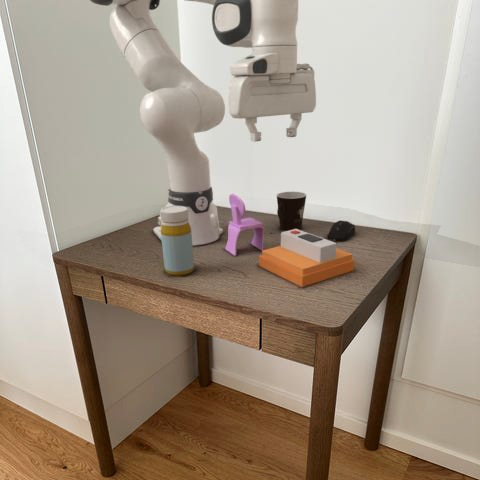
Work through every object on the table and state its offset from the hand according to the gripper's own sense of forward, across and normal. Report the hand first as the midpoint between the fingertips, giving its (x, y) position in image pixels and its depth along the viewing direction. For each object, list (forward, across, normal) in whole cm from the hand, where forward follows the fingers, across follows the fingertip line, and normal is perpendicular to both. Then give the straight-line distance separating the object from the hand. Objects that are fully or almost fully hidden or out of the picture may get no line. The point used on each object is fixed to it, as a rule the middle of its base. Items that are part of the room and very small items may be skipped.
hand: (274, 139), depth 97 cm
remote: (+25, -6, +5) cm, 26 cm away
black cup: (+29, -22, -22) cm, 43 cm away
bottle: (+29, +19, -12) cm, 37 cm away
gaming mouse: (+29, -29, -7) cm, 42 cm away
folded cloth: (+29, -6, +5) cm, 30 cm away
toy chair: (+29, -2, -15) cm, 33 cm away
